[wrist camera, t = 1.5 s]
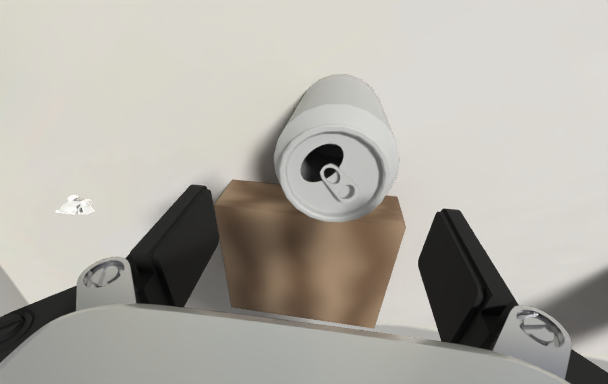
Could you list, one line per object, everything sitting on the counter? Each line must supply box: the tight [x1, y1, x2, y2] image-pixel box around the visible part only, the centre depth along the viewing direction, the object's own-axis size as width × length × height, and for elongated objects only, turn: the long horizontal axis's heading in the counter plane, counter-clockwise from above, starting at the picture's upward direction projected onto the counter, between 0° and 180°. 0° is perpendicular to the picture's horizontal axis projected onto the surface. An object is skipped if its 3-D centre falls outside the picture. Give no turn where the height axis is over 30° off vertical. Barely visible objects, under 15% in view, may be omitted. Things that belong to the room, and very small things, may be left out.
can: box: [274, 74, 400, 222], centre depth 20 cm, size 8×8×12 cm
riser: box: [214, 180, 406, 328], centre depth 32 cm, size 18×16×5 cm
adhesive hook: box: [56, 195, 95, 215], centre depth 35 cm, size 3×3×3 cm
